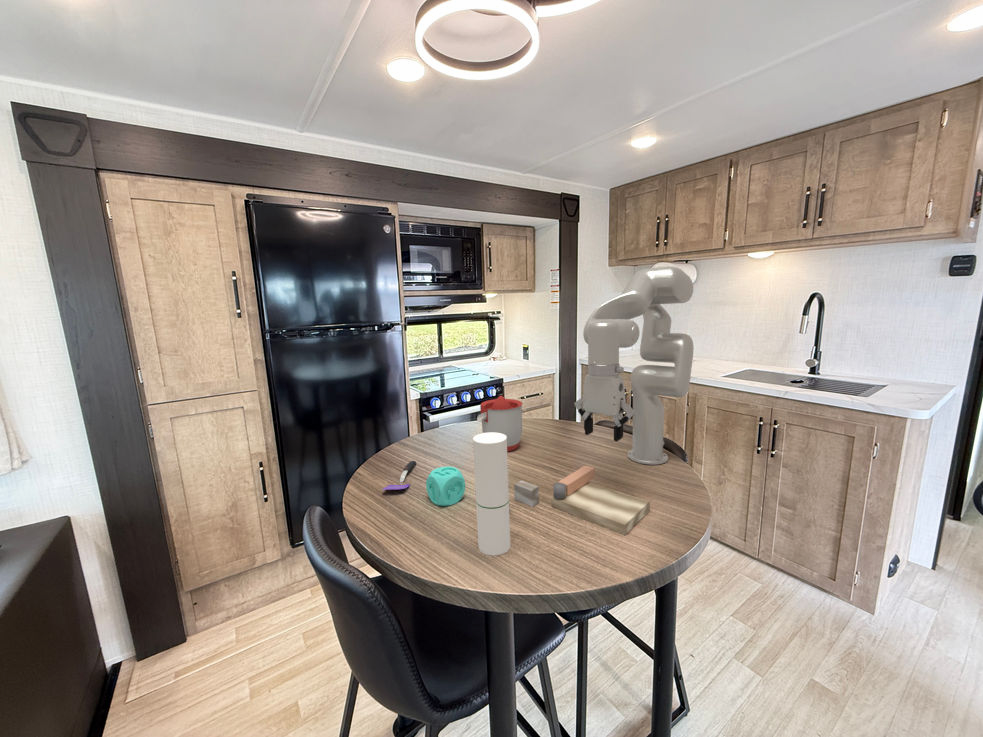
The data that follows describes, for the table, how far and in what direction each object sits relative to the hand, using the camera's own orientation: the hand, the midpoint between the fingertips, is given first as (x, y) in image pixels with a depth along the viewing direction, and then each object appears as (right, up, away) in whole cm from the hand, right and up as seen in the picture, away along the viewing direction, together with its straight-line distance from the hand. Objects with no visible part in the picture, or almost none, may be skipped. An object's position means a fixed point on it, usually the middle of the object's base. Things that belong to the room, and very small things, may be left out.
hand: (603, 436), depth 102 cm
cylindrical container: (-28, -22, -15) cm, 39 cm away
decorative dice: (-42, -19, +7) cm, 46 cm away
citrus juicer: (-26, -12, +45) cm, 53 cm away
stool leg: (-6, -15, +5) cm, 17 cm away
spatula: (-57, -18, +22) cm, 63 cm away
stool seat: (-6, -18, +1) cm, 19 cm away
